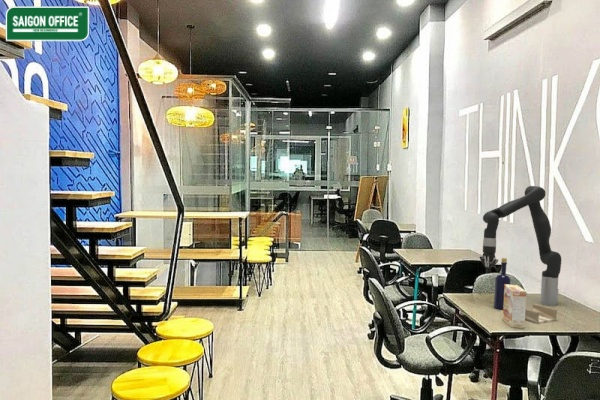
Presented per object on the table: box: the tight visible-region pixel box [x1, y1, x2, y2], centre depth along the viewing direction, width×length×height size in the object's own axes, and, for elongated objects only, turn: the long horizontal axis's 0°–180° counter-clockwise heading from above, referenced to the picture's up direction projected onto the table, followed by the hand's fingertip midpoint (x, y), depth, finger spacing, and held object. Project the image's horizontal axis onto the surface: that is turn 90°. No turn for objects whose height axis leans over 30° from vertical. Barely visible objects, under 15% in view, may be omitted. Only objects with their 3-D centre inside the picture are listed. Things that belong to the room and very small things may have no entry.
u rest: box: [525, 303, 558, 325], centre depth 278 cm, size 16×14×6 cm
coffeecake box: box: [502, 284, 527, 329], centre depth 266 cm, size 15×7×20 cm, turn 174°
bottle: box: [493, 257, 512, 311], centre depth 297 cm, size 9×9×30 cm
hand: (488, 273), depth 308 cm, fingers closed
